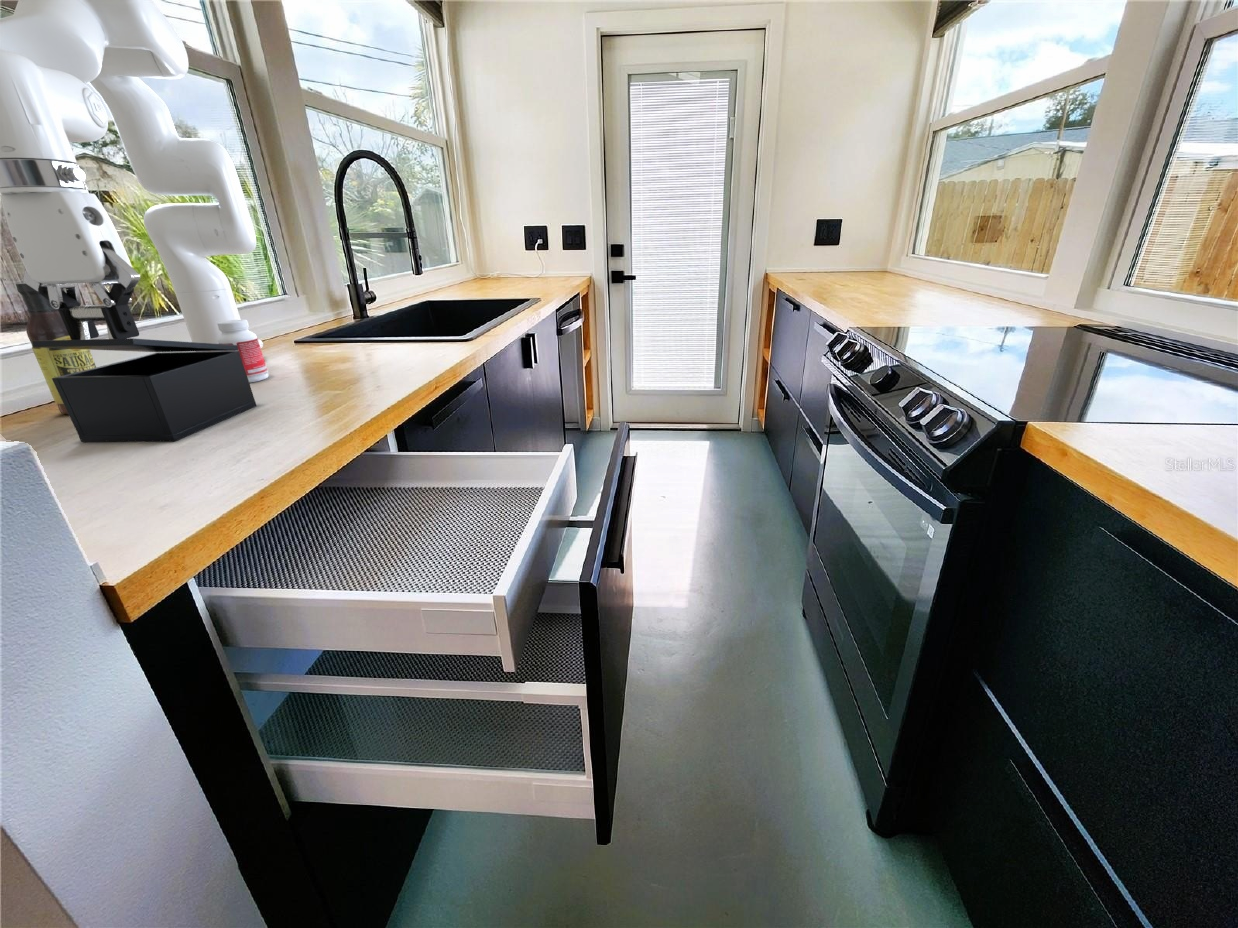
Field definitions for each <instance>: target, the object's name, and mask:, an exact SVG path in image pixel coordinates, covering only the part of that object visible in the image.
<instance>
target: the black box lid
mask: <svg viewBox="0 0 1238 928" xmlns="http://www.w3.org/2000/svg"><path fill="white" fill-rule="evenodd" d="M103 307H106V306H105V305H104V304H85V305H84V304H83V305H82V304H81V305H80V306H72V307H70V309H69V315H70V317H71V318H72V319H73V320H75V321H77V324H78V329H79V335H80V340H46V341H32V344H33V347H39V348H63V349H88V350H90V351H91V350H92V351H93V350H94V351H117V352H139V353H141V352H142V353H162V352H196V351H235V350H238V345H227V344H212V343H196V342H192V341H181V340H179V341H178V340H166V339H165V340H163V339H148V338H135V337H132V338H126V339H114V338H112V335H111V333H110V330H109V328H108V326H107V323H106V321H105V318H104V316H103V313H102V311H101V308H103ZM87 322H94V323H95V322H105V324H106V330H107V336H108V338H91V339H90V334H89V328H88V323H87ZM32 344H31V345H32Z"/></svg>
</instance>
